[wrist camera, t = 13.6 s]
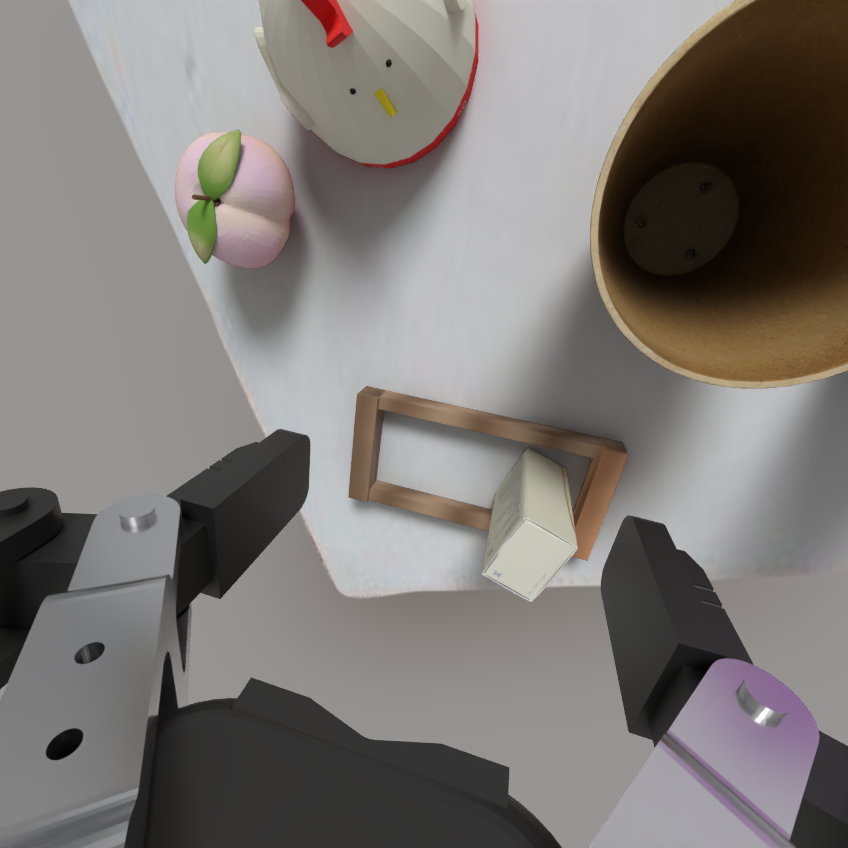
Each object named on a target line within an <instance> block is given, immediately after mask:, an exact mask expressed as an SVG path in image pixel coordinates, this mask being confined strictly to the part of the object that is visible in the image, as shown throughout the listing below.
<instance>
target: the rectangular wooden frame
mask: <svg viewBox="0 0 848 848" xmlns="http://www.w3.org/2000/svg"><path fill="white" fill-rule="evenodd" d="M384 410H385V411H389V412H394V413H398V414H402V415H407V416H411V417H415V418H420V419H424V420H429V421H433V422H437V423H442V424H446V425H450V426H455V427H459V428H464V429H468V430H472V431H477V432H481V433H485V434H490V435H494V436H499V437H503V438H507V439H512V440H516V441H521V442H525V443H529V444H534V445H538V446H542V447H547V448H551V449H556V450H560V451H564V452H569V453H573V454H577V455H582V456H586V457H591V458H592V460H591V463H590V466H589V469H588V472H587V475H586V477H585V480H584V483H583V486H582V489H581V492H580V495H579V497H578V500H577V503H576V506H575V509H574V512H573V519H574V526H575V533H576V540H577V547H578V549H577V550H576V552H575V553H574V554H573V556H572V557H575V558H579V559H583V560H586V561H587V560H588V558H589V555H590V553H591V550H592V547H593V545H594V542H595V540H596V537H597V535H598V532H599V529H600V527H601V524H602V522H603V519H604V517H605V514H606V511H607V509H608V506H609V504H610V501H611V499H612V496H613V493H614V491H615V488H616V486H617V483H618V481H619V478H620V475H621V473H622V470H623V468H624V465H625V463H626V460H627V457H628V453H627V451H626V449H625V447H624V444H623V443H622V442H617V441H613V440H608V439H604V438H599V437H595V436H590V435H586V434H581V433H577V432H572V431H567V430H563V429H558V428H554V427H549V426H545V425H540V424H536V423H531V422H527V421H522V420H518V419H513V418H509V417H504V416H500V415H495V414H490V413H486V412H481V411H477V410H472V409H468V408H463V407H459V406H454V405H450V404H445V403H441V402H436V401H432V400H427V399H423V398H418V397H413V396H409V395H404V394H400V393H395V392H391V391H386V390H382V389H377V388H373V387H368V386H366V387H365V388H364V389H363V390H361V391H360V392H359V393H358V394H357V401H356V413H355V425H354V437H353V449H352V461H351V473H350V485H349V498H353V499H357V500H360V501H364V502H367V501H368V500H372V501H376V502H380V503H383V504H387V505H391V506H395V507H398V508H402V509H406V510H410V511H414V512H417V513H421V514H425V515H429V516H433V517H436V518H440V519H444V520H448V521H451V522H455V523H459V524H463V525H467V526H470V527H474V528H478V529H482V530H485V531H489V529H490V522H491V516H492V510H491V509H487V508H483V507H479V506H475V505H471V504H467V503H463V502H459V501H455V500H451V499H448V498H444V497H440V496H436V495H432V494H428V493H424V492H420V491H416V490H412V489H409V488H405V487H401V486H397V485H393V484H389V483H385V482H381V481H377V480H376V477H377V468H378V459H379V450H380V441H381V432H382V423H383V415H384Z"/></svg>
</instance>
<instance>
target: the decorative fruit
mask: <svg viewBox="0 0 848 848" xmlns="http://www.w3.org/2000/svg"><path fill="white" fill-rule="evenodd" d="M175 200H176V206H177V210H178V213H179V216H180V218H181V221H182V223H183V225H184V226H185V228H186V230H187V231H188V235H189V238H190V241H191V244H192V246H193V248H194V250H195V252H196V253H197V255H198V256H199V258H200V259H201V260H202V261H203V262H204V263H205V264H206V263H207V262H208V261H209V260H210V258H211V255H213V256H215V257H216V258H218V259H219V260H222V261H224V262H226V263H228V264H231V265H235V266H238V267H243V268H259V267H263V266H265V265H267V264H269V263H270V262H271V261H273V260H274V259H275V258H276V257H277V256H278V254H279V253H280V251H281V250H282V248H283V246H284V245H285V243H286V241H287V239H288V236H289V232H290V217H291V215H292V213H293V211H294V207H295V196H294V188H293V183H292V179H291V175H290V173H289V170H288V168H287V166H286V164H285V162H284V160H283V159H282V158H281V156H280V155H279V154H278V153H277V151H275V150H274V149H273V148H272V147H271V146H270V145H268V144H267V143H265V142H263V141H261V140H259V139H256V138H253V137H250V136H246V135H241V132H240V130H236V131H232V132H229V133H225V132H216V133H209V134H206V135H203V136H201V137H199V138H198V139H196V140H195V141H193V142H192V143H191V144H190V145H189V146H188V147H187V149H186V150H185V151H184V153H183V154H182V156H181V158H180V160H179V163H178V167H177V171H176V178H175Z"/></svg>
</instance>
